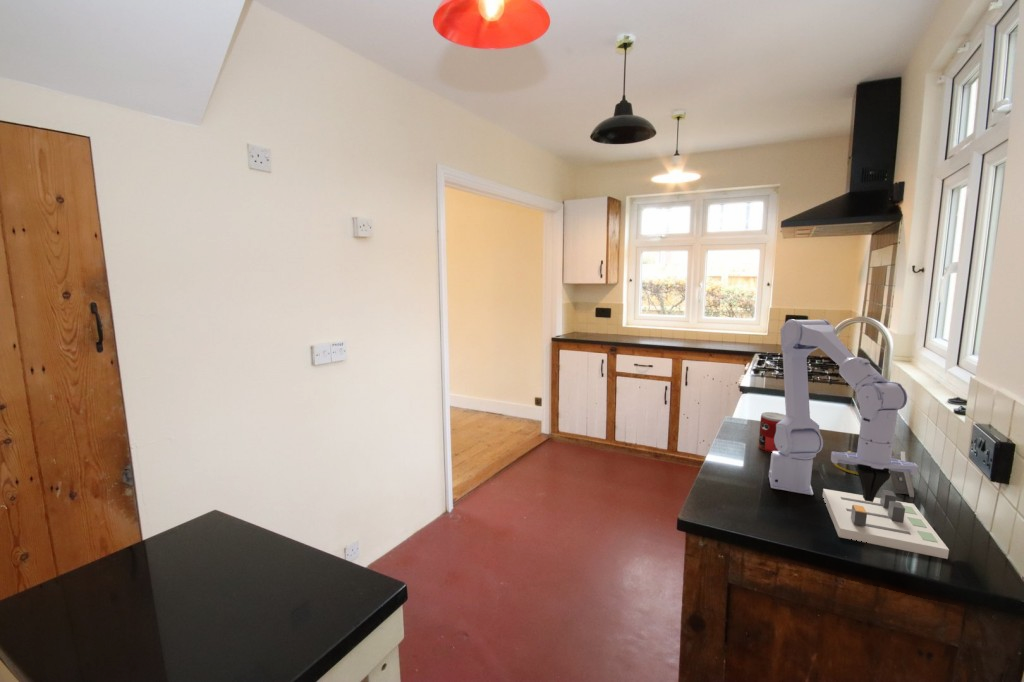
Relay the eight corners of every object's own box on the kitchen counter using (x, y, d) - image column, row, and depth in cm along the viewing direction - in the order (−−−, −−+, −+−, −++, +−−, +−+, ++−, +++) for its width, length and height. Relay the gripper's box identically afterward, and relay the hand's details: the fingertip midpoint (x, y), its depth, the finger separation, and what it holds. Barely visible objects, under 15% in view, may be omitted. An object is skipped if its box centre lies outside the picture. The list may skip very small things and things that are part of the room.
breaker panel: (838, 537, 100) (841, 513, 99) (822, 496, 118) (824, 476, 117) (947, 559, 93) (951, 534, 92) (912, 511, 111) (915, 490, 110)
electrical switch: (914, 499, 117) (914, 463, 116) (887, 495, 120) (887, 459, 119) (912, 486, 124) (913, 452, 123) (887, 482, 127) (888, 449, 126)
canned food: (760, 442, 154) (763, 410, 152) (788, 448, 149) (791, 415, 148) (756, 450, 148) (759, 416, 146) (785, 455, 143) (788, 421, 142)
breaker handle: (853, 524, 101) (855, 510, 100) (850, 517, 103) (852, 504, 103) (865, 526, 100) (867, 512, 99) (861, 519, 103) (863, 506, 102)
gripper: (838, 439, 98) (831, 500, 100) (927, 451, 92) (917, 515, 94) (831, 429, 104) (825, 486, 106) (914, 439, 98) (905, 500, 100)
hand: (867, 499), depth 100 cm, fingers closed
